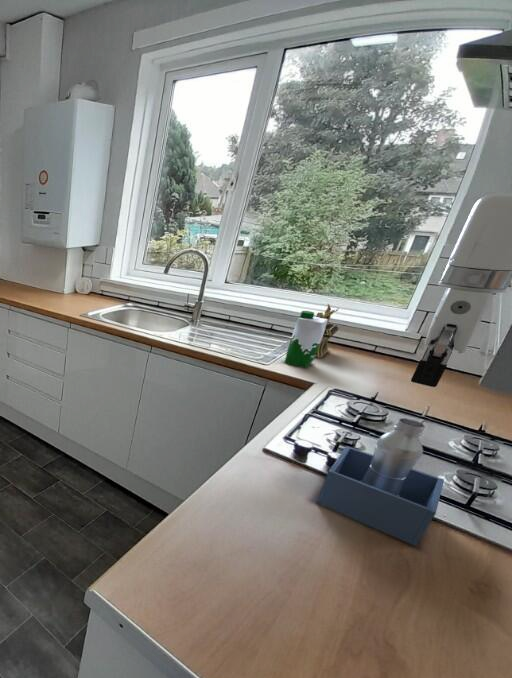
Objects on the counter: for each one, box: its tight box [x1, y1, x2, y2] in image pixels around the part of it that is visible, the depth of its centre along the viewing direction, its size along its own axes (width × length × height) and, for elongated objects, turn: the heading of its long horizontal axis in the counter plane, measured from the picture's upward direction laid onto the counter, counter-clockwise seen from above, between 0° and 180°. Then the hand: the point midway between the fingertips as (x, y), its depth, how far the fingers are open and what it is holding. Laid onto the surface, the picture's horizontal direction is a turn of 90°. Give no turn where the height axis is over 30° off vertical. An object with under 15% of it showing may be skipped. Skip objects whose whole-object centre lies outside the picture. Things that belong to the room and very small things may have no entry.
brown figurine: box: [314, 303, 340, 358], centre depth 169 cm, size 20×10×20 cm, turn 133°
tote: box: [315, 445, 445, 547], centre depth 83 cm, size 16×15×8 cm
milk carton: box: [284, 310, 328, 369], centre depth 155 cm, size 9×9×20 cm
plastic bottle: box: [360, 417, 426, 496], centre depth 80 cm, size 6×7×20 cm
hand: (426, 376), depth 72 cm, fingers open, 9 cm apart
